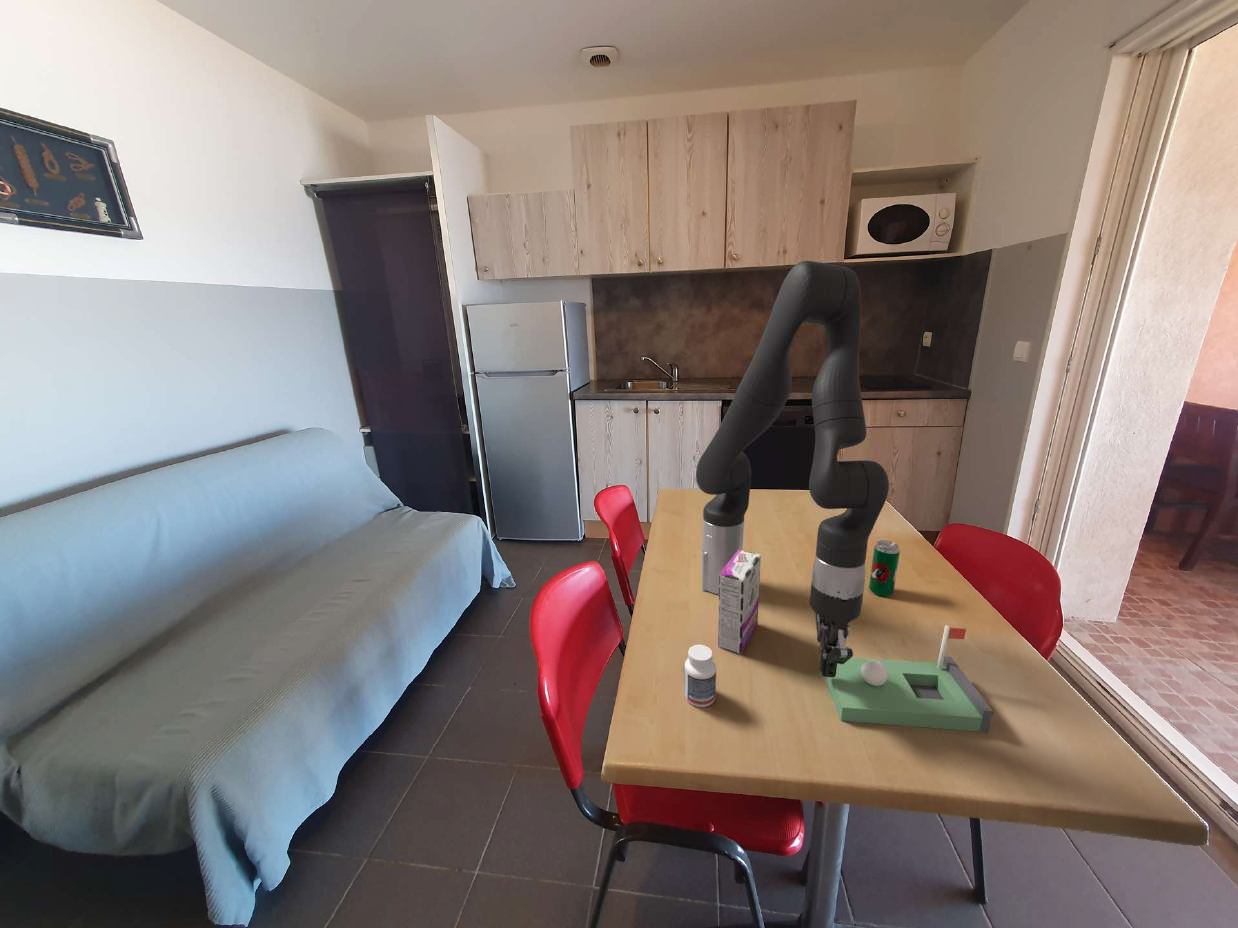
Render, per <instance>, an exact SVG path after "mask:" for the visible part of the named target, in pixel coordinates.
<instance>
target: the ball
mask: <svg viewBox="0 0 1238 928" xmlns="http://www.w3.org/2000/svg"><path fill="white" fill-rule="evenodd" d="M861 675H862V677H863V679H864V680H865V681H866V682H867V683H869V684H870V685H873V686H880V685H883V684H884V683H885V682H886V681H887V678H888V672H887V669H886V668H885V666H884V665H883V664H882V663H881V662H879V661H877V660H867V661H865V662H864V663H863V664H862V666H861Z"/></svg>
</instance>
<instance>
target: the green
mask: <svg viewBox="0 0 1238 928" xmlns="http://www.w3.org/2000/svg"><path fill="white" fill-rule="evenodd" d="M966 631H967V628H966V627H952V626H950V625H947V624H946V625H944V629H943V635H942V640H941V643H940V644H941V645H940V650H939V655H938V659H937V662H933V661H932V662H928V661H915V660H914V661H913V660H898V659H884V658H883V659H882V658H881V659H880V658H867V657H866V658H864V657H863V658H862V657H851V658H850V659H849V660H848V661H847V662H845V663H844V664H837V670H836V676H835V677H824V681H825V682H826V685H827V687H828V690H829V693H830V695H831V698H832V700H833V703H834V706H835V708H836V712H837V714H838V716H839V719H840V722H841V721H842V722H855V723H865V724H877V725H891V726H893V725H894V726H905V727H906V726H907V727H919V728H929V729H940V730H941V729H942V730H943V729H944V730H957V731H969V732H979V733H989V728H990V726H991V720H992V716H993V713H994V711H993V709H992V708H991V707H990V705H989V704H988V703H987V701H986V700H985V699H984V698H983V696H982V695H981V693H979V691H978V690H977V688H976V687H975V686H974V685H973V683H972V682H971V680H970V679H968V677H967V675H966V674H965V673H964V672H963V670H962V669H961V668H960V667H959V665H958V664H957V663H956V662H955V660H954V659H953V658H952V656H946V651H947V650H946V649H947V644H948V640H950V639H951V640H952V639H953V640H965V636H966ZM867 660H877V661H879V662H881V663H882V664H883V665H884V666H885V668H886V669H887V672H888V678H887V681H886V682H885V683H884V684H883V685H880V686H873V685H870V684H869V683H867V682H866V681H865V680H864V679H863V677H862V675H861V666H862V664H863V663H864V662H865V661H867Z"/></svg>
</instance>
